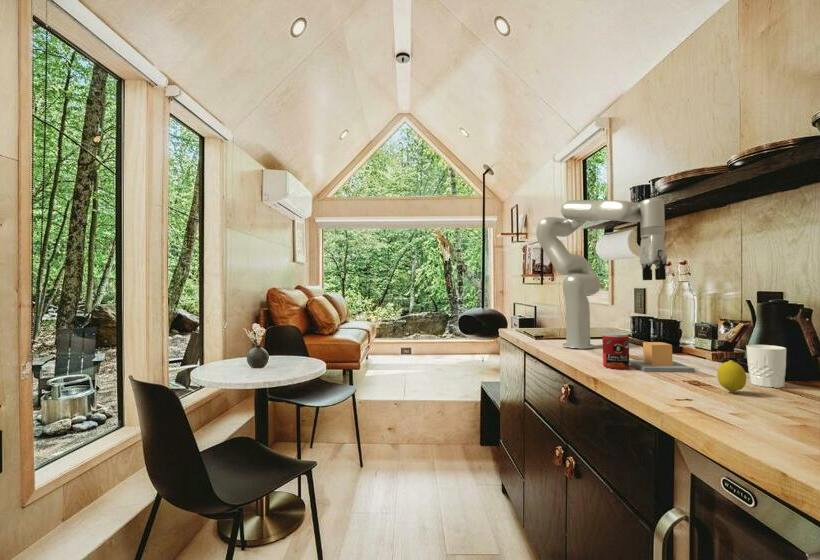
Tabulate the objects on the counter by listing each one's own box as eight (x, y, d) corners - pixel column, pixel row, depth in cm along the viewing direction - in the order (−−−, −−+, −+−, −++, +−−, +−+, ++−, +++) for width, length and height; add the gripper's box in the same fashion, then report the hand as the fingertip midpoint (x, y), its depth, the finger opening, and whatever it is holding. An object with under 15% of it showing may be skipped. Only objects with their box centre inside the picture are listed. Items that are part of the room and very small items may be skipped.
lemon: (752, 396, 94) (751, 362, 94) (725, 395, 95) (724, 362, 95) (738, 390, 99) (737, 358, 100) (713, 389, 101) (712, 358, 101)
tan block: (643, 361, 131) (642, 342, 131) (662, 362, 130) (662, 342, 130) (652, 365, 125) (651, 344, 125) (672, 365, 124) (672, 344, 124)
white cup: (794, 386, 102) (793, 347, 102) (776, 390, 99) (775, 350, 99) (758, 380, 110) (757, 343, 110) (740, 383, 107) (739, 345, 107)
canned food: (605, 369, 126) (604, 334, 126) (601, 364, 134) (600, 331, 134) (632, 370, 124) (631, 335, 124) (626, 365, 131) (625, 332, 132)
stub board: (626, 363, 135) (626, 345, 135) (671, 363, 133) (670, 345, 133) (644, 371, 122) (644, 352, 122) (693, 372, 120) (693, 352, 120)
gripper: (631, 236, 153) (632, 280, 153) (653, 230, 136) (654, 279, 136) (652, 235, 152) (653, 280, 152) (676, 229, 135) (677, 279, 135)
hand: (653, 280), depth 144 cm, fingers open, 9 cm apart
